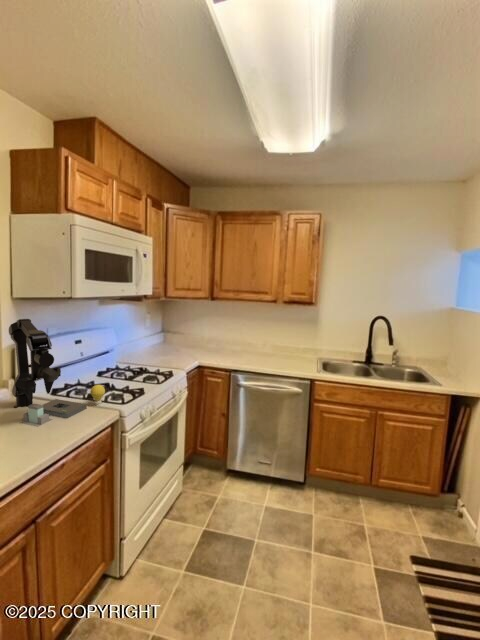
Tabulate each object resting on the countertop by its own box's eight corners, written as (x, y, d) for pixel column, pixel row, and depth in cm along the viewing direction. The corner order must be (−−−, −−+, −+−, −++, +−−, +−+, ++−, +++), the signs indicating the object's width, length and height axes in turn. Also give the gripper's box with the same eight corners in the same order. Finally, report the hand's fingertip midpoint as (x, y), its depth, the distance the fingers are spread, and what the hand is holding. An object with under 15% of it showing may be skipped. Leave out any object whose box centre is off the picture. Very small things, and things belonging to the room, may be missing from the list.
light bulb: (100, 407, 172) (99, 387, 170) (87, 406, 173) (87, 386, 172) (107, 402, 178) (107, 383, 177) (96, 401, 179) (95, 382, 178)
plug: (28, 421, 152) (28, 405, 151) (34, 418, 155) (34, 403, 154) (37, 423, 151) (37, 407, 150) (43, 420, 153) (43, 405, 152)
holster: (19, 424, 150) (18, 416, 150) (35, 417, 158) (34, 409, 157) (37, 428, 148) (37, 419, 147) (53, 421, 155) (52, 412, 155)
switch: (35, 413, 162) (35, 407, 161) (56, 404, 173) (55, 398, 173) (67, 420, 157) (67, 413, 156) (86, 410, 168) (86, 403, 167)
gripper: (36, 369, 139) (37, 407, 141) (70, 358, 157) (71, 392, 159) (13, 366, 142) (15, 403, 144) (49, 356, 160) (50, 389, 162)
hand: (39, 397), depth 152 cm, fingers open, 9 cm apart
